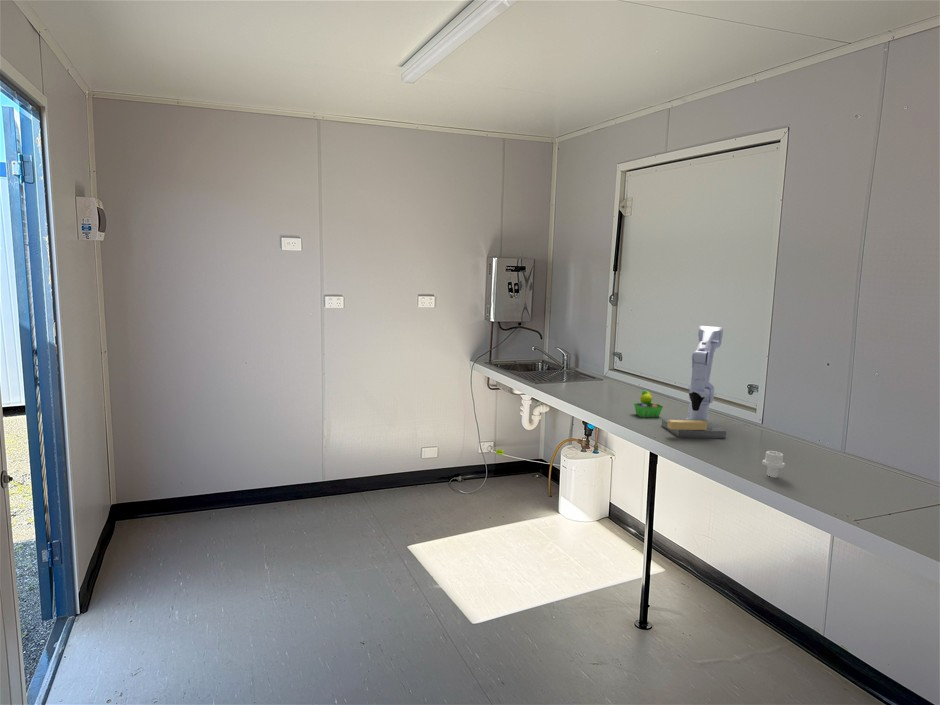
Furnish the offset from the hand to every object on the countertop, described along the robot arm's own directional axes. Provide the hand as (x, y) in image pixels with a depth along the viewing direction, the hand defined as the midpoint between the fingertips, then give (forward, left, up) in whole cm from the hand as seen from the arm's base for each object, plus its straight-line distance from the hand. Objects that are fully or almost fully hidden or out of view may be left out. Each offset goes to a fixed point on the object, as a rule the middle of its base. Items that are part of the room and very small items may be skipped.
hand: (695, 410), depth 269 cm
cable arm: (+12, -7, -5) cm, 14 cm away
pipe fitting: (+57, +2, -9) cm, 58 cm away
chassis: (+4, -2, -8) cm, 9 cm away
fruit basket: (-24, -12, -9) cm, 28 cm away
